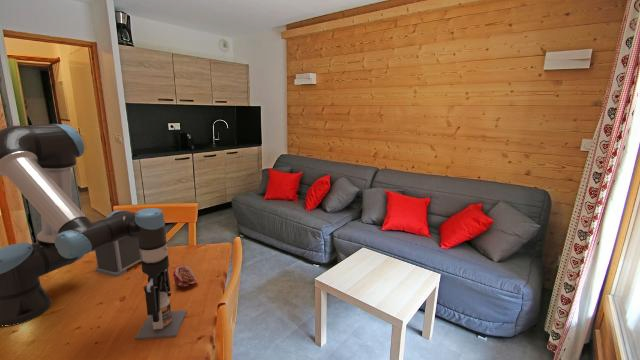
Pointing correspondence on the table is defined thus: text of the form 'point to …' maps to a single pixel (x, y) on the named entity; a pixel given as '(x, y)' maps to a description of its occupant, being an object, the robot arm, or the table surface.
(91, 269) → the table surface
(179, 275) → the flower
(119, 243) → the grey box
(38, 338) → the table surface
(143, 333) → the slate coaster
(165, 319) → the pill bottle
